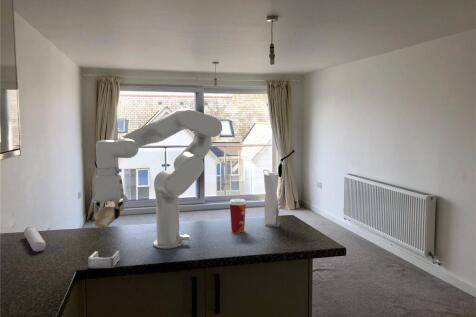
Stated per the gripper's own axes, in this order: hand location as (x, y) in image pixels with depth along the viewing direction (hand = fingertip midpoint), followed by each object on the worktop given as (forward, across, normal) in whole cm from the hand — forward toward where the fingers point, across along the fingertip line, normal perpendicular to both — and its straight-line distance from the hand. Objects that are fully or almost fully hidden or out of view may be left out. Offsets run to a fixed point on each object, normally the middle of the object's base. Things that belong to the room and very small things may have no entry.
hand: (111, 217), depth 148 cm
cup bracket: (+15, 0, +10) cm, 17 cm away
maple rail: (0, 0, 0) cm, 0 cm away
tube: (+15, +38, -12) cm, 42 cm away
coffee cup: (+17, -50, -30) cm, 60 cm away
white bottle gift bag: (+17, -66, -41) cm, 80 cm away
